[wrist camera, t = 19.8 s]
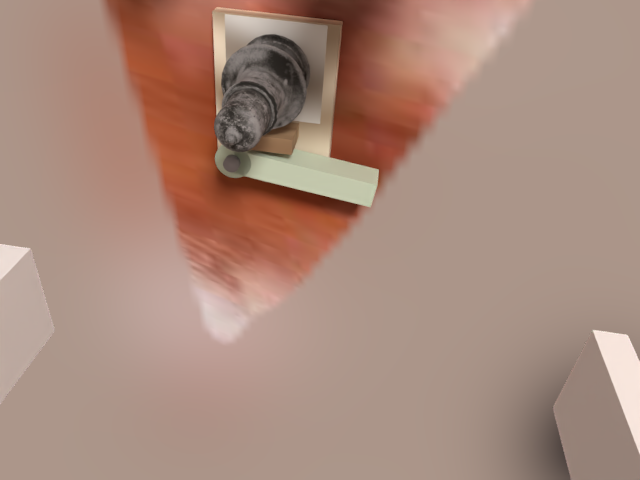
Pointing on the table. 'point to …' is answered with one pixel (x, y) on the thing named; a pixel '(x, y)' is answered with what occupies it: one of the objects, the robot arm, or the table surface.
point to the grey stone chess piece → (261, 90)
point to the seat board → (323, 58)
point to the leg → (303, 173)
